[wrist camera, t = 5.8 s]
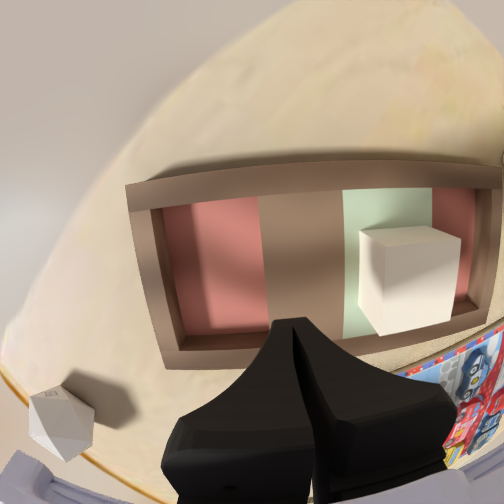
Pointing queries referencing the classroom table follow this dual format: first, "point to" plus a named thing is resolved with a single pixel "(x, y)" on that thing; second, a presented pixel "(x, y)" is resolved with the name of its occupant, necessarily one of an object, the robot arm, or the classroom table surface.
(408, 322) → the block
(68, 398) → the die
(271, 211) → the tray
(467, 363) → the puzzle board
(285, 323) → the robot arm
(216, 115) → the classroom table surface
